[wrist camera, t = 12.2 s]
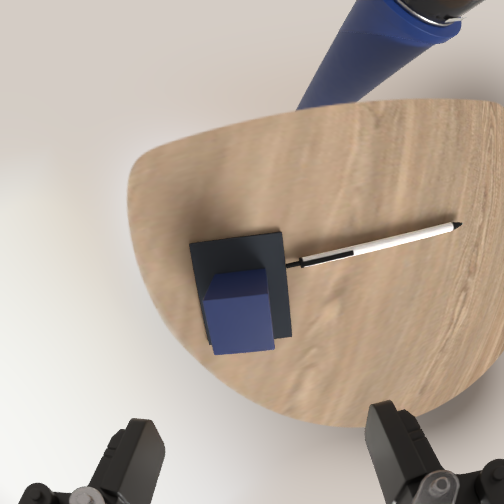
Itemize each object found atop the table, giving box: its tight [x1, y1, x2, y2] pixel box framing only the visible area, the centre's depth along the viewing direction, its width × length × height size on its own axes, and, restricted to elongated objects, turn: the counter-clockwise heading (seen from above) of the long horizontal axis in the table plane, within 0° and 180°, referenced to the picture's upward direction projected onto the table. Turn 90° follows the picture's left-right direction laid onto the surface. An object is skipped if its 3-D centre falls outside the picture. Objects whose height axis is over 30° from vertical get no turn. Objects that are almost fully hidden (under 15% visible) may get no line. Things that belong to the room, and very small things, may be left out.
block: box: [203, 268, 275, 355], centre depth 23 cm, size 4×4×6 cm
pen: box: [286, 222, 463, 268], centre depth 24 cm, size 1×19×1 cm, turn 104°
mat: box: [189, 232, 292, 345], centre depth 26 cm, size 10×8×1 cm
